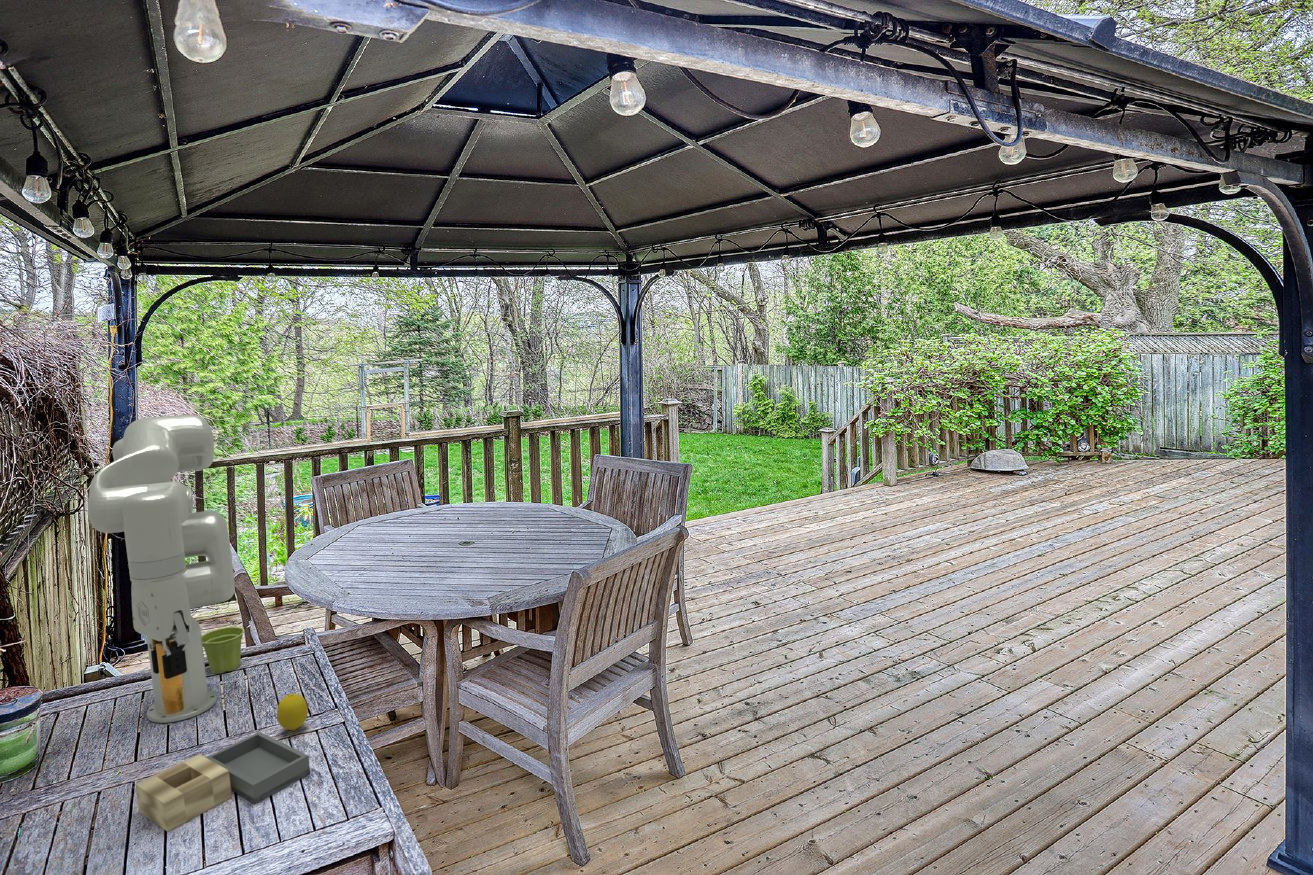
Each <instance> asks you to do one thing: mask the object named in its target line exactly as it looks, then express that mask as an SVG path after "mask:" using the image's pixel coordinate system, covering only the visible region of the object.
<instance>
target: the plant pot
mask: <svg viewBox="0 0 1313 875" xmlns="http://www.w3.org/2000/svg"><path fill="white" fill-rule="evenodd" d="M244 633H245V629H244V628H243V627H239V626H228V627H222V628H218V629H214V630H211V631H209V632H206V633H203V634H201V636H202V645H203V650H204V652H205V655H206V660H207V662H208V665H209V666H208V667H209V669H210V672H211V673H212V674H213V673H214V674H223V673H225V672H231V671H234V670H236V669H238V668H239V667H240V665H241V656H242V654H241V653H242V652H241V651H242V648H241V647H242V639H243V635H244Z"/></svg>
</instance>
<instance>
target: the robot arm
mask: <svg viewBox="0 0 1313 875" xmlns="http://www.w3.org/2000/svg"><path fill="white" fill-rule="evenodd" d="M214 442H215V440H214V433H213V430H212V427H211V425H210V424H209V422H208V421H207V420H206V419H205V418H204V417H203V416H200V415H197V414H183V415H182V414H181V415H166V416H165V415H164V416H163V415H161V416H149V417H143V418H139V419H136V420H134V421H132V422H131V423H130V424H128V425H127V426H126V428H125V430H124V433H123V438H121V439H118V440H117V441H115V442H114V444H113V446H112V458H113V461H112V462H111V463H109V464H107V465H106V466H104V467H102V468H101V469H100V470H99V471H98V472H97V473H95V475H93V478H92V480H91V482H90V485H89V491H88V500H87V515H88V516H87V517H88V520H89V522H90V525H91V526H92V527H93V528H94V529H95V530H96V531H97V532H100V533H105V534H114V533H122V532H124V540H125V547H126V555H127V556H126V557H127V563H128V564H127V566H128V569H129V570H128V571H129V572H128V573H129V580H130V582H131V588H130V589H131V595H130V596H131V611H132V612H131V613H132V623H133V624H132V625H133V629H134V630H135V632H137V633H138V634H140V635H143V636H144V637H146V642H147V649H148V657H149V658H148V659H149V665H150V666H149V667H150V675H151V682H152V690H153V698H154V699H153V700H154V703H153V704H152V705H151V706H150V707H149V708H148V709H147V711H146V718H147V719H148V720H149V721H150V722H153V723H161V724H165V723H167V724H169V723H175V722H180V721H183V720H187V719H190V718H193V717H195V716H199V715H201V714H203V713H204V712H206V711H208V710H210V709H211V708H212V707H213V706H214V705H215V704H216V703H217V701H218V700H217V699H218V698H217V696H218V695H217V693H216V691H214V690H212V689H211V690H210V689H208V683H207V682H208V681H207V675H206V674H207V673H206V667H205V666H206V664H205V656H204V647H203V645H202V630H201V626H200V624H199V621H197V619H196V618H195V617H193V615H192V613H191V609H194V608H201V607H205V606H210V605H211V606H212V605H215V604H220V603H224V602H226V601H228V600H230V599H231V598H232V597H233V596H234V593H235V588H236V586H235V583H236V582H235V575H234V574H235V572H234V567H233V566H234V565H233V558H232V550H231V549H232V548H231V544H230V535H229V528H228V524H227V522H226V520H225V517H224V516H223V514H221V513H220V512H218V511H214V510H205V511H196V512H193V511H194V510H193V509H194V496H193V492H192V491H191V490H190V488H188V487H187V486H186V484H183V483H182V482H178V481H173V480H172V479H173V478H174V477H175V476H176V475H177V473H183V472H192V471H200V470H206V469H208V468H209V467H210V466H211V465H212V464H213V461H214V458H215V443H214ZM201 556H202V557H206V558H207V559H208V560H205V561H198V562H192V563H186V559H187V558H194V557H201ZM175 638H176V640H175V641H172V642H171V644H169V640H172V639H175ZM159 641H162V644H163V650H164V654H165V655H163V656H162V662H163V671H164V678H166V679H170V678H172V677H175V676H178V675H180V674H182V681H183V690H184V699H185V709H183V710H182V711H180V712H177V713H174V714H165V713H164V709H163V701H162V693H161V684H160V676H159V668H158V659H157V651H156V643H157V642H159Z"/></svg>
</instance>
